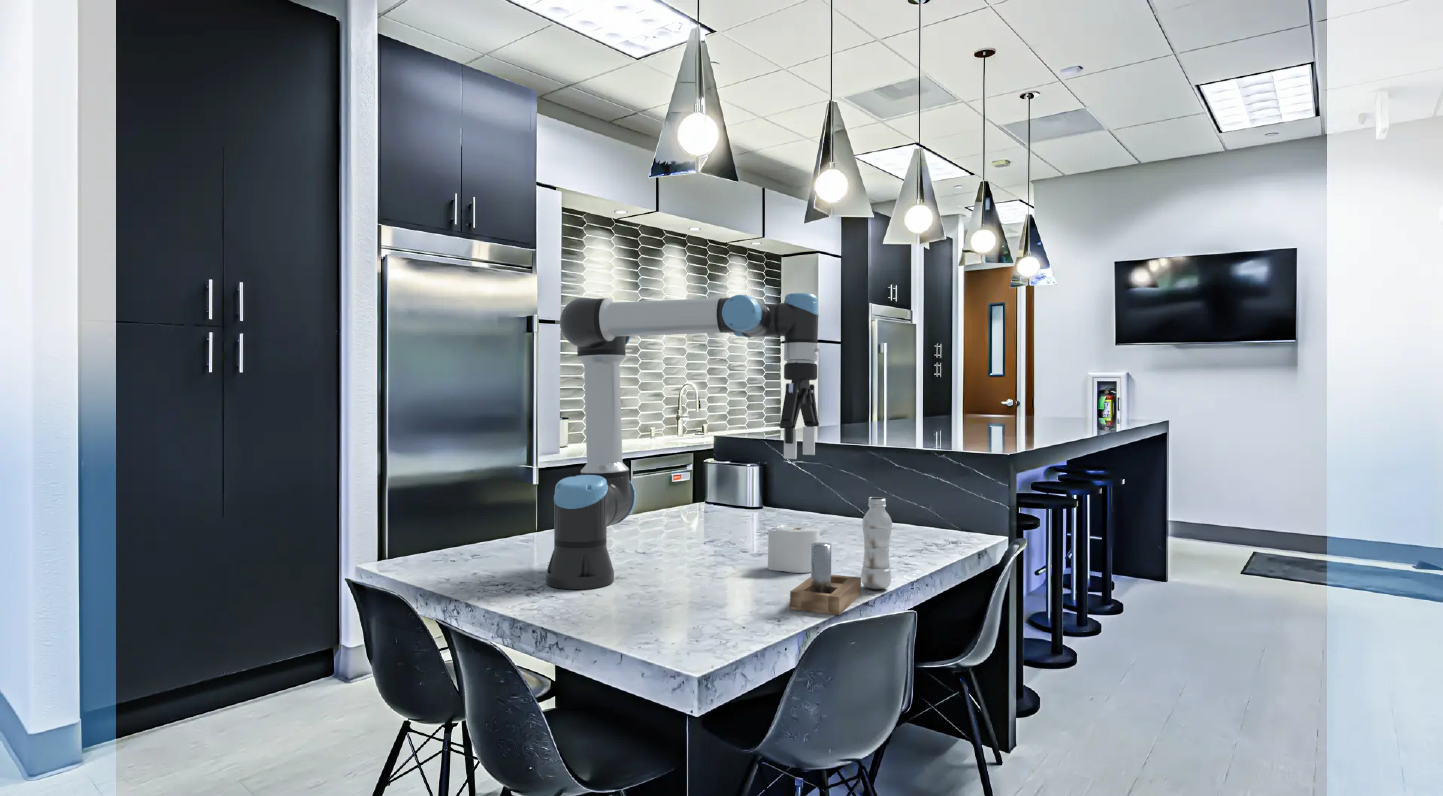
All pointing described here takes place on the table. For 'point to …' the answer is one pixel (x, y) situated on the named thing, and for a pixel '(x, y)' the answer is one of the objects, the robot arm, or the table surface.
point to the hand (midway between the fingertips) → (799, 456)
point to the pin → (821, 567)
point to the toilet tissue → (791, 548)
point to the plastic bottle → (876, 545)
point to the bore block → (826, 595)
